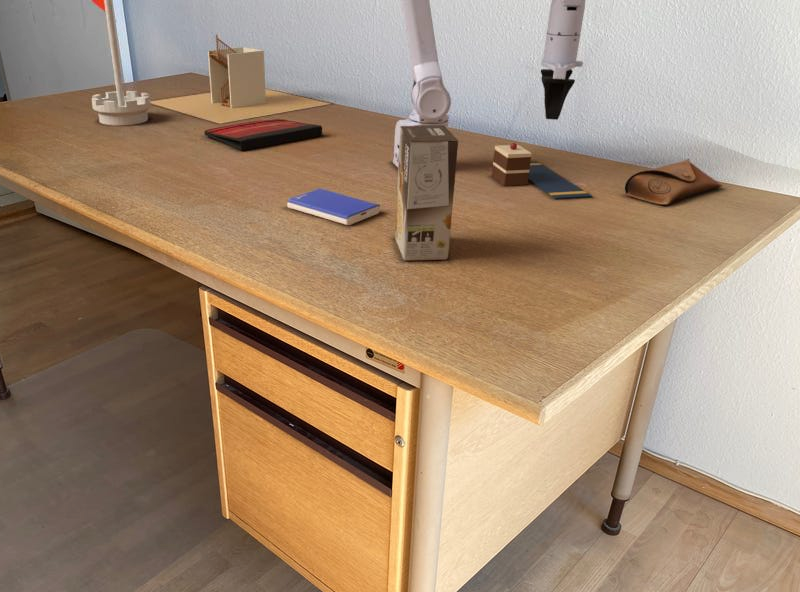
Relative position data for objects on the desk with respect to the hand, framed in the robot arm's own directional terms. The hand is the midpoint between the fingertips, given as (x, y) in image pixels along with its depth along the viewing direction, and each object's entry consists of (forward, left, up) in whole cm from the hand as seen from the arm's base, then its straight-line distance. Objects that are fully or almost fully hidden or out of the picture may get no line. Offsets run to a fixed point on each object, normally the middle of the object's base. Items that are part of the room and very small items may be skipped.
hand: (551, 114), depth 136 cm
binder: (-50, +33, -10) cm, 61 cm away
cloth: (-3, -7, -10) cm, 13 cm away
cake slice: (-10, -7, -10) cm, 15 cm away
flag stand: (-80, +54, -10) cm, 97 cm away
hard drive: (-44, -18, -10) cm, 49 cm away
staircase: (-52, +70, -10) cm, 88 cm away
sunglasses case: (+16, -18, -10) cm, 26 cm away
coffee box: (-35, -36, -10) cm, 51 cm away
